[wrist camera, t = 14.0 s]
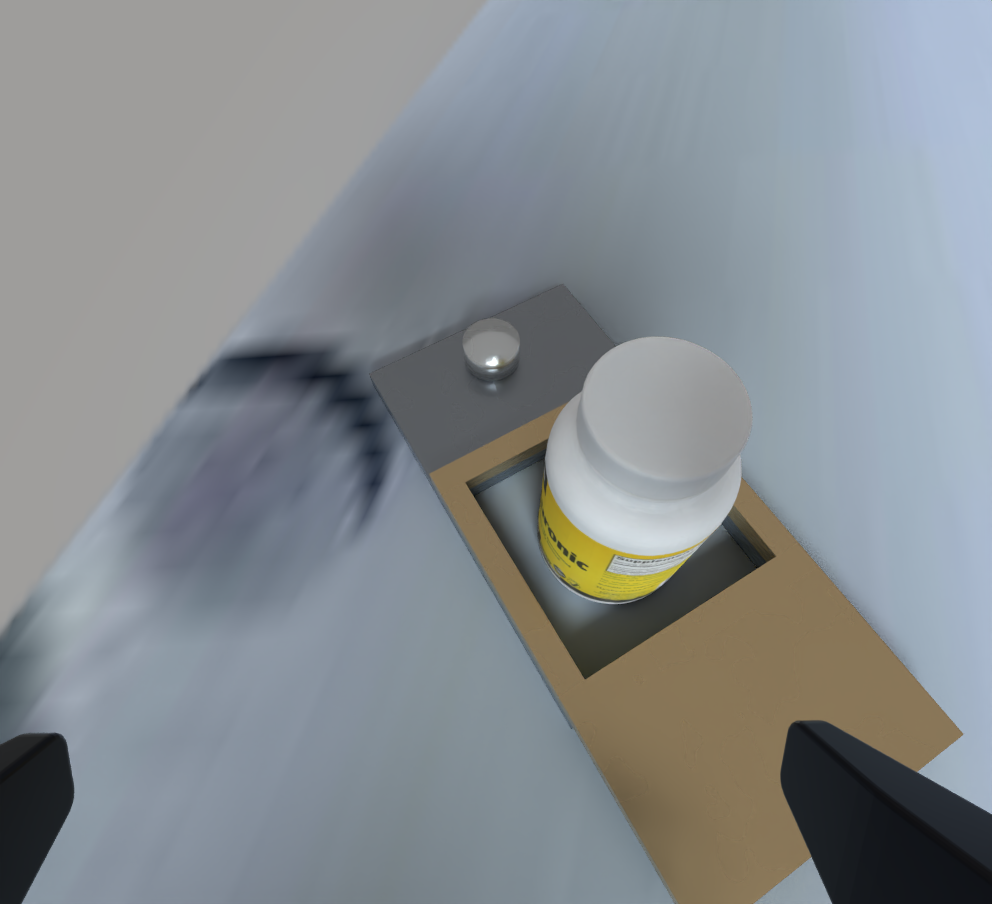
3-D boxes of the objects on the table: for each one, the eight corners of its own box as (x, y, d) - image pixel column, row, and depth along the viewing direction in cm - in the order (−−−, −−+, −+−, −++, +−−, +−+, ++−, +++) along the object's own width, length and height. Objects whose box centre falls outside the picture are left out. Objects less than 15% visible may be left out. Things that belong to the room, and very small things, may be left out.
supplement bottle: (524, 483, 23) (535, 324, 15) (655, 465, 23) (743, 299, 15) (548, 618, 21) (578, 523, 12) (694, 597, 21) (827, 490, 12)
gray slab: (372, 384, 26) (362, 356, 24) (561, 295, 28) (565, 264, 26) (685, 927, 17) (706, 949, 15) (929, 735, 19) (973, 734, 17)
